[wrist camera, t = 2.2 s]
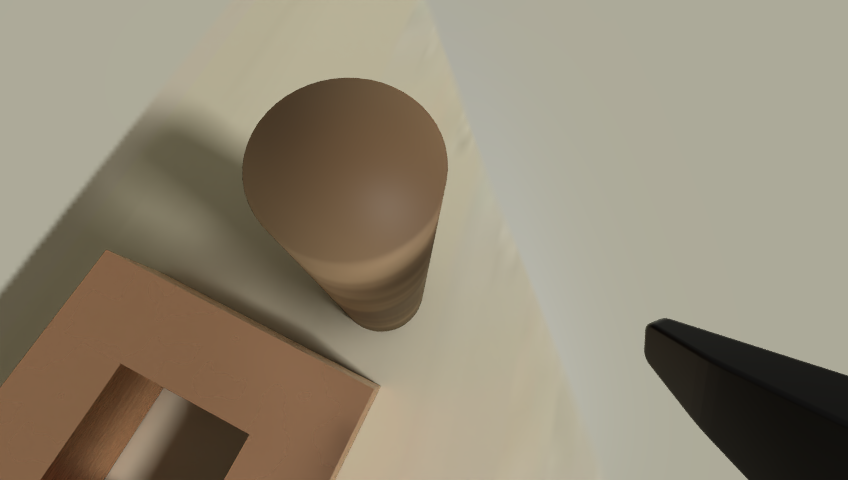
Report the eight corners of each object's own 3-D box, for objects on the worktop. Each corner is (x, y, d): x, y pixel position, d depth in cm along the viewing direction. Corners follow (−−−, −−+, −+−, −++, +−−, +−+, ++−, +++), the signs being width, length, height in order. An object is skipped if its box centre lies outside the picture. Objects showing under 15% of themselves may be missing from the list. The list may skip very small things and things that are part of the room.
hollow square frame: (231, 691, 16) (175, 793, 12) (-23, 532, 17) (-147, 578, 13) (380, 386, 19) (374, 389, 15) (162, 272, 20) (106, 249, 17)
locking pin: (400, 346, 20) (390, 297, 7) (326, 308, 20) (199, 203, 8) (436, 272, 21) (479, 124, 9) (365, 238, 21) (310, 50, 9)
